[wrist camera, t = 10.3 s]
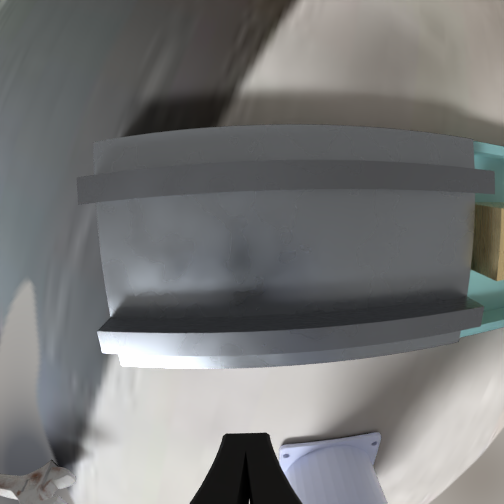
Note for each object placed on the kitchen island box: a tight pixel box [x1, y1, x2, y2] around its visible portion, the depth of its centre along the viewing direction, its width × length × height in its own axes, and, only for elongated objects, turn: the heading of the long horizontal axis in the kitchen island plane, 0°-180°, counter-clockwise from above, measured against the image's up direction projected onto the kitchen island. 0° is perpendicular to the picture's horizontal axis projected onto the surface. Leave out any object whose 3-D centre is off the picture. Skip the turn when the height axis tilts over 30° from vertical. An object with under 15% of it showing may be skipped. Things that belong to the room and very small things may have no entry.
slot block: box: [77, 124, 495, 369], centre depth 16 cm, size 12×20×5 cm, turn 92°
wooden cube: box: [471, 202, 504, 281], centre depth 15 cm, size 4×4×4 cm
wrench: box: [0, 460, 76, 504], centre depth 21 cm, size 8×2×30 cm
